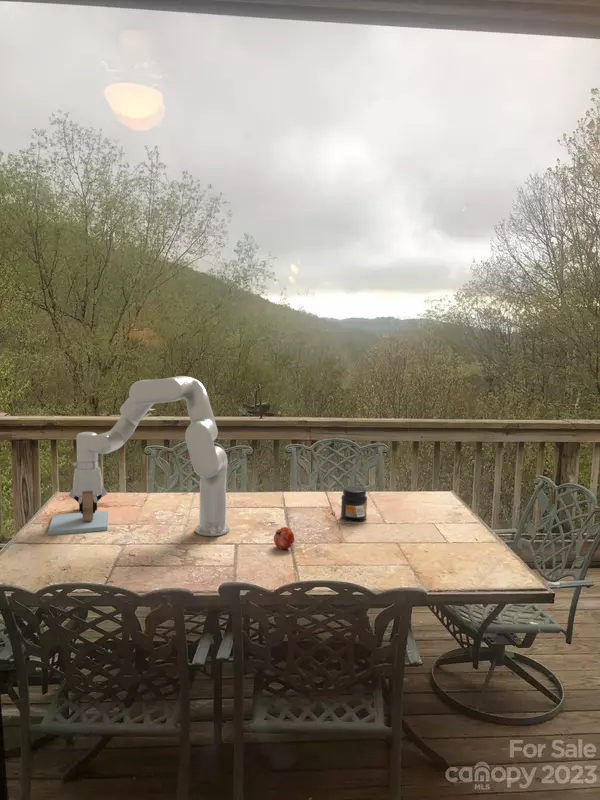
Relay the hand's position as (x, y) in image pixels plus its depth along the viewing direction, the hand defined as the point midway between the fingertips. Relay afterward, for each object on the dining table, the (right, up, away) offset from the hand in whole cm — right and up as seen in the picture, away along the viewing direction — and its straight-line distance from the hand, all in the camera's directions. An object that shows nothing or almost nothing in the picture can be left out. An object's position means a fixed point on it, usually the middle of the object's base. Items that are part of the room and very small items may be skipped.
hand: (88, 512), depth 208 cm
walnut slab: (0, -2, 0) cm, 2 cm away
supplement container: (+102, -6, +16) cm, 104 cm away
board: (-3, -4, -1) cm, 5 cm away
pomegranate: (+75, -8, -20) cm, 78 cm away
